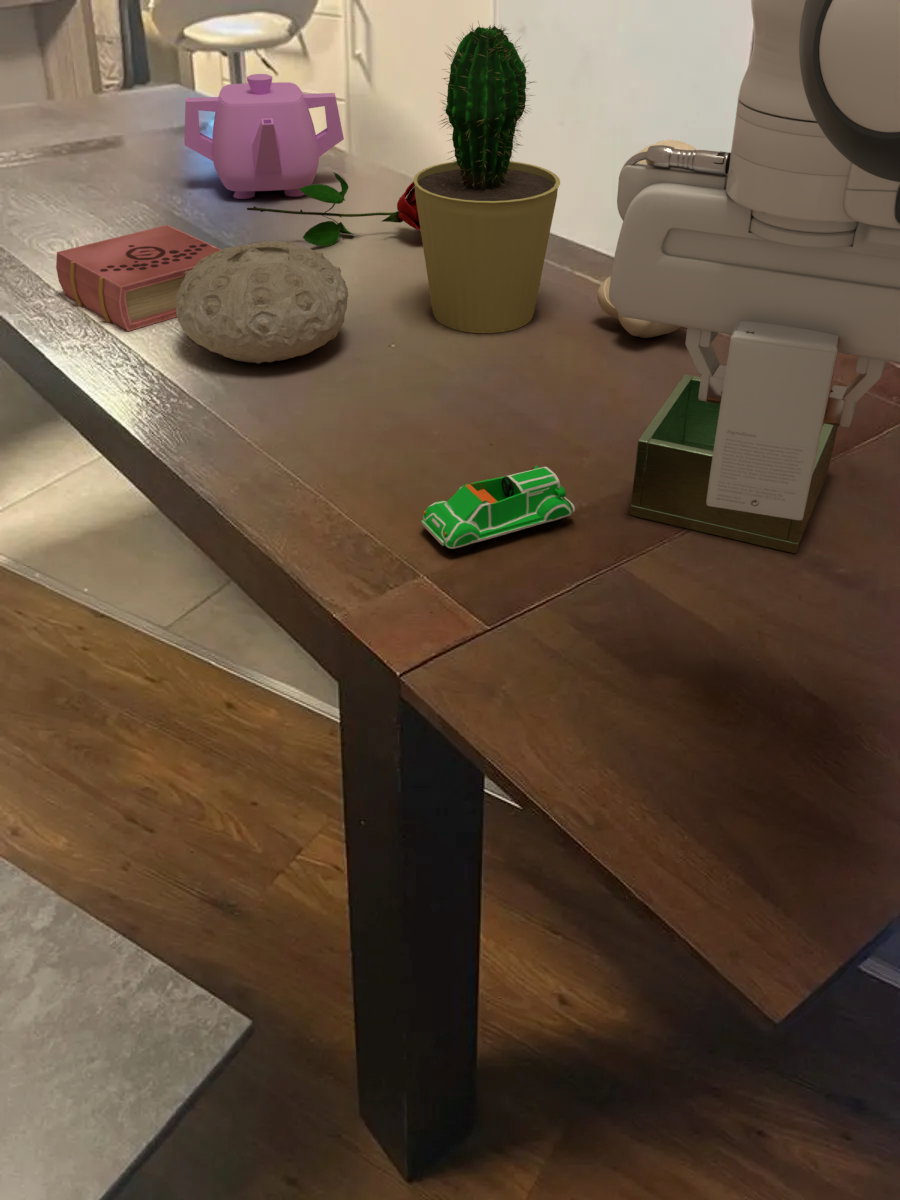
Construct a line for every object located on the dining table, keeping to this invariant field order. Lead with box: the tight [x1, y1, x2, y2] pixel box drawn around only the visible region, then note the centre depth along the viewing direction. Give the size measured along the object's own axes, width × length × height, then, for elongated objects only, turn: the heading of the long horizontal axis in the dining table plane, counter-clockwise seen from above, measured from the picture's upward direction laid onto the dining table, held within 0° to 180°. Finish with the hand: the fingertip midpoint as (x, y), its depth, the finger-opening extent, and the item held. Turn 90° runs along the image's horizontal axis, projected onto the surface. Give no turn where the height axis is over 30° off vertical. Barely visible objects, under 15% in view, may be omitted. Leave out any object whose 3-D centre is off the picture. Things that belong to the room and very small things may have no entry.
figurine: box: [596, 139, 698, 339], centre depth 123 cm, size 14×9×20 cm
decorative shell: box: [176, 240, 349, 365], centre depth 123 cm, size 18×18×10 cm
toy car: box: [420, 465, 576, 555], centre depth 95 cm, size 12×5×4 cm, turn 118°
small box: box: [706, 321, 840, 520], centre depth 68 cm, size 8×6×10 cm
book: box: [55, 224, 222, 332], centre depth 135 cm, size 14×15×5 cm
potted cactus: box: [412, 21, 561, 334], centre depth 124 cm, size 15×15×30 cm
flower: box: [246, 171, 421, 247], centre depth 150 cm, size 9×10×30 cm
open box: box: [629, 374, 839, 554], centre depth 98 cm, size 14×14×7 cm
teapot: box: [183, 73, 345, 200], centre depth 167 cm, size 19×18×15 cm
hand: (775, 410), depth 68 cm, fingers closed on small box, 6 cm apart
